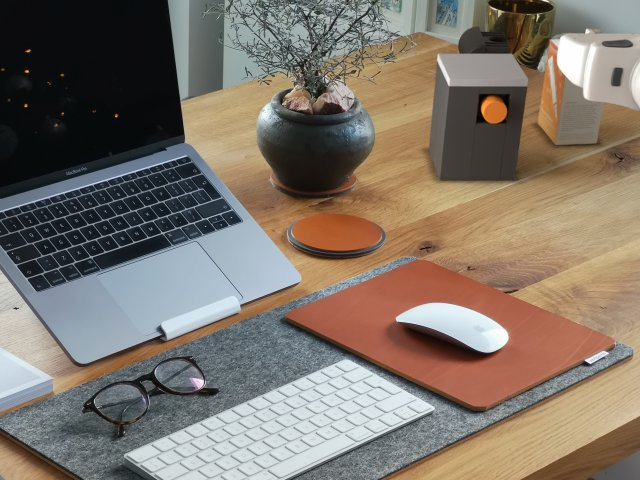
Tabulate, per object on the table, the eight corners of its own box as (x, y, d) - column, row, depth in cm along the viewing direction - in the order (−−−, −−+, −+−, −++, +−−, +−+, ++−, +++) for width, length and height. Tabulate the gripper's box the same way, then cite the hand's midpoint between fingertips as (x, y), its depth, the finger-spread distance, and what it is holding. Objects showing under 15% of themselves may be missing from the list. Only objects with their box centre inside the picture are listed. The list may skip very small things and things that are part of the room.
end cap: (455, 65, 187) (459, 25, 184) (498, 66, 187) (503, 26, 183) (461, 85, 179) (466, 44, 175) (506, 86, 178) (511, 45, 175)
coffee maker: (499, 150, 156) (512, 53, 149) (514, 180, 148) (528, 79, 140) (428, 150, 156) (437, 53, 149) (439, 180, 148) (449, 79, 140)
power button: (501, 116, 144) (504, 94, 143) (505, 123, 142) (508, 101, 141) (478, 116, 144) (481, 94, 143) (482, 123, 142) (484, 101, 141)
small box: (536, 124, 165) (549, 38, 158) (578, 123, 165) (592, 37, 158) (554, 145, 158) (568, 56, 151) (597, 144, 158) (613, 55, 151)
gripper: (766, 45, 122) (720, 8, 134) (580, 46, 122) (550, 9, 134) (753, 99, 125) (709, 59, 137) (571, 100, 125) (543, 60, 137)
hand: (629, 34), depth 136 cm, fingers open, 8 cm apart
